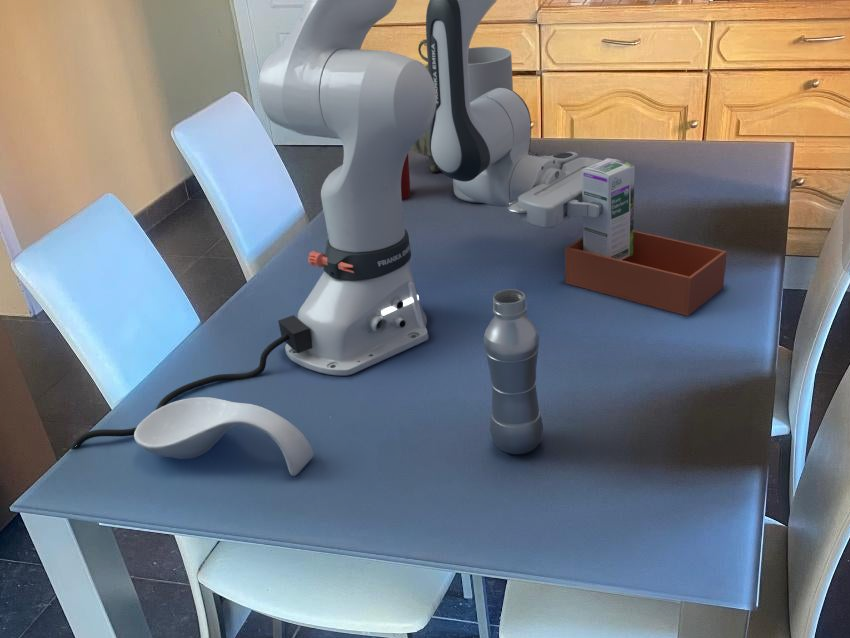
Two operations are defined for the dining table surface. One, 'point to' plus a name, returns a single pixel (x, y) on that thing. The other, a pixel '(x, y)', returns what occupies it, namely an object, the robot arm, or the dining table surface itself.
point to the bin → (651, 272)
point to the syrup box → (609, 208)
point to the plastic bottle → (513, 374)
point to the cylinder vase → (487, 79)
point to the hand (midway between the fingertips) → (613, 202)
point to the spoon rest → (216, 429)
